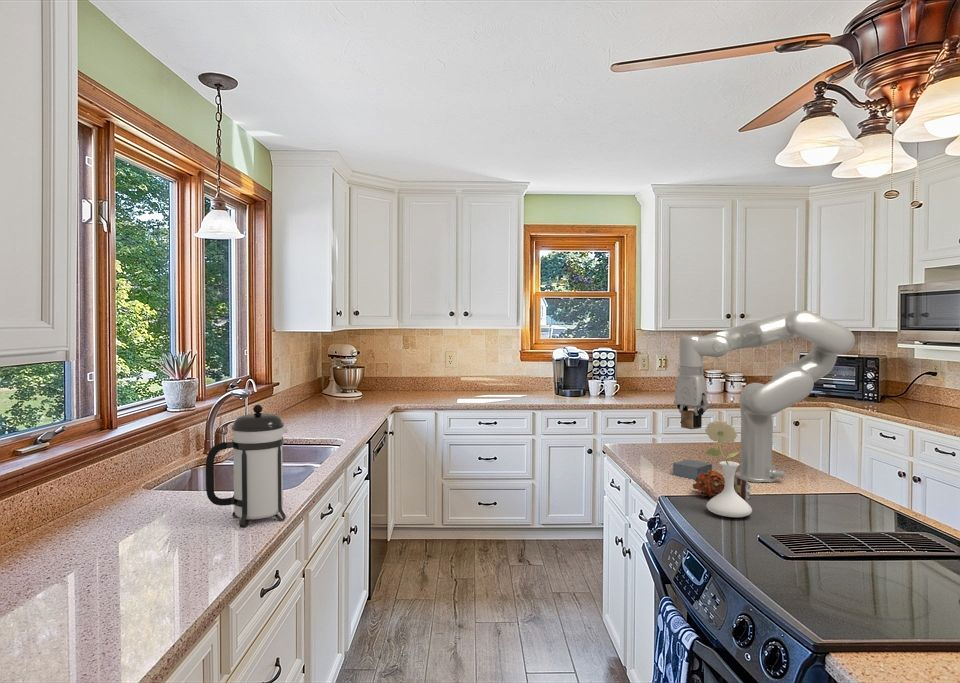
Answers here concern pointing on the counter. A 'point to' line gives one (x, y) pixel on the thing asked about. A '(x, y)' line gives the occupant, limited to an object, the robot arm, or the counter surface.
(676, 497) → the counter surface
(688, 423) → the block
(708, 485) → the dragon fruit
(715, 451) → the flower in vase
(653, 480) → the counter surface
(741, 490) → the chocolate cake
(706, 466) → the gray rectangular block
